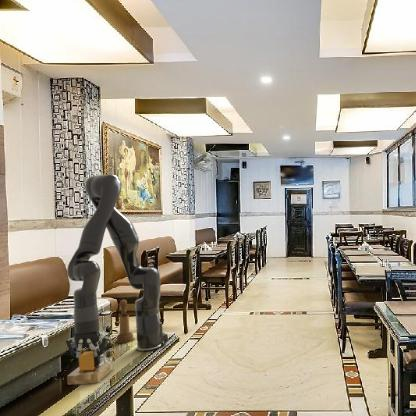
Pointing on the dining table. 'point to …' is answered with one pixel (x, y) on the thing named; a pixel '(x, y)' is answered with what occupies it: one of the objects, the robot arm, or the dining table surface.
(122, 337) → the brown tall wooden piece
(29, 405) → the dining table surface
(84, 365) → the orange block
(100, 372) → the wooden square tray
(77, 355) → the robot arm
